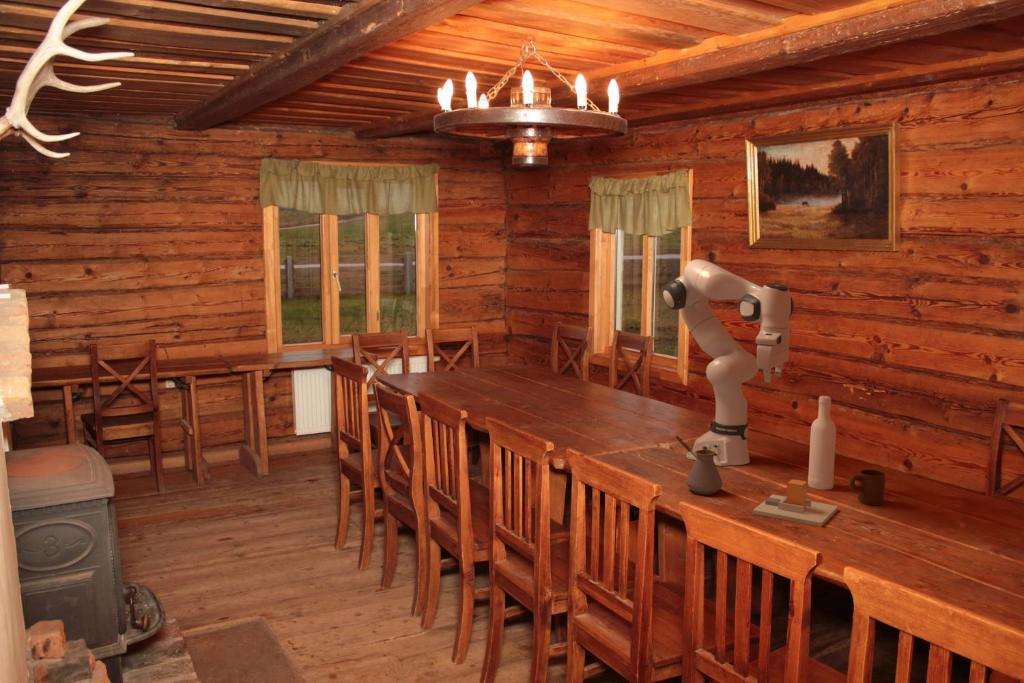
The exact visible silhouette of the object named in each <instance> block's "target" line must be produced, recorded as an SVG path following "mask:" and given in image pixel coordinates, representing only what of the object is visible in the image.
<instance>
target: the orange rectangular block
mask: <svg viewBox="0 0 1024 683" xmlns="http://www.w3.org/2000/svg"><path fill="white" fill-rule="evenodd" d="M786 488H787V490H786V496H787V504H793V505H798V506H804V509H805V508H806V499H807V492H808V481H805V480H799V479H794V478H791V480H789V481H788V482H787V486H786Z"/></svg>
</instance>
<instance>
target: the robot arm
mask: <svg viewBox="0 0 1024 683" xmlns="http://www.w3.org/2000/svg"><path fill="white" fill-rule="evenodd" d="M683 270H684V271H683V274H682V275H680V276H679V277H677V278H676V279H674V280H671V281H669V282H668V283H667V284H665V285H664V287H663V288H662V298H663V301H664V303H665V304H666V306H667V307H669V308H670V309H671V310H673V311H679V310H680V313H681V316H682V319H683V321H684V323H685V326H686V327H687V328H688V329H687V330H689V333H690V334H691V335H692V337H693V338H694V340H695V342H696V343H697V345H698V346H699V347H700V349H701V351H702V352H704V353H705V354H707V355H709V356H710V357H711V358H713V360H712V361H711V362H709V363H708V364H707V366H706V369H705V373H706V374H705V375H706V379H707V381H708V382H709V383H710V384H711V385H712V390H713V394H714V397H715V418H714V419H713V420H712V421H711V422H709V423H708V428H709V429H710V430H708V431H707V432H705V433H704V434H702V435H701V436H699V437H698V438H697V439H695V441H694V444H693V447H692V449H691V450H692V451H693V452H694V453H695V451H697V450H710V451H714V452H715V455H714V458H713V460H714V462H715V465H716V466H718V467H726V466H727V467H728V466H741V465H746V464H749V463H750V461H751V459H750V456H749V450H748V441H747V440H748V436H749V423H748V401H747V399H746V398H745V396H744V394H743V393H744V392H743V388H742V387H743V385H742V383H745V382H749V381H750V380H751V379H752V378H754V377H755V376H756V375H757V374H758V372H759V369H760V370H762V372H763V376H764V380H763V381H764V382H765V383H771V382H772V377H773V376H774V378H781V377H782V372H783V368H784V367H783V366H784V363H787V362H788V361H789V357H790V355H789V354H790V336H791V332H790V331H791V330H790V329H791V325H790V318H791V317H792V314H794V310H795V303H794V299H793V297H792V296H791V290H790V289H789V287H788V286H786V285H784V284H782V283H781V284H780V283H773V282H772V283H770V282H769V283H765V284H764V285H763V286H762V285H760V284H758V283H756V282H754V281H750V280H748V279H745V278H744V277H742V276H739V275H737V274H734V273H733V272H730V271H728V270H726V269H724V268H723V267H721V266H719V265H716V264H715V263H712V262H711V261H707V260H704V259H697V258H695V259H693V260H691V261H689V262H688V263H687V264H686V265H685V267H684V269H683ZM709 299H712V300H717V301H718V300H720V301H722V300H723V301H724V300H725V301H726V300H739V304H738V312H739V315H740V317H741V318H742V320H743V321H745V322H747V323H760V327H759V329H760V330H759V332H758V335H756V337H755V344H757V347H756V356H755V355H754V354H753V353H750V352H749V351H746V350H745V349H744V348H743V346H742V345H740V344H739V342H737V341H736V340H735V339H734V338H733V337H732V336H731V334H730V333H729V332H728V331H727V330H726V328H725V326H724V325H723V324H722V321H721V320H720V319H719V317H718V316H717V315H716V313H715V311H714V310H713V309H712V308H711V306H710V304H709ZM773 368H775V370H774V373H773V374H774V375H773V376H772V375H771V374H772V369H773ZM686 458H687V459H689V460H693V461H696V458H695V457H694V456H693V455H692V454H691V452H689V451H688V452H687V453H686Z"/></svg>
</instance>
